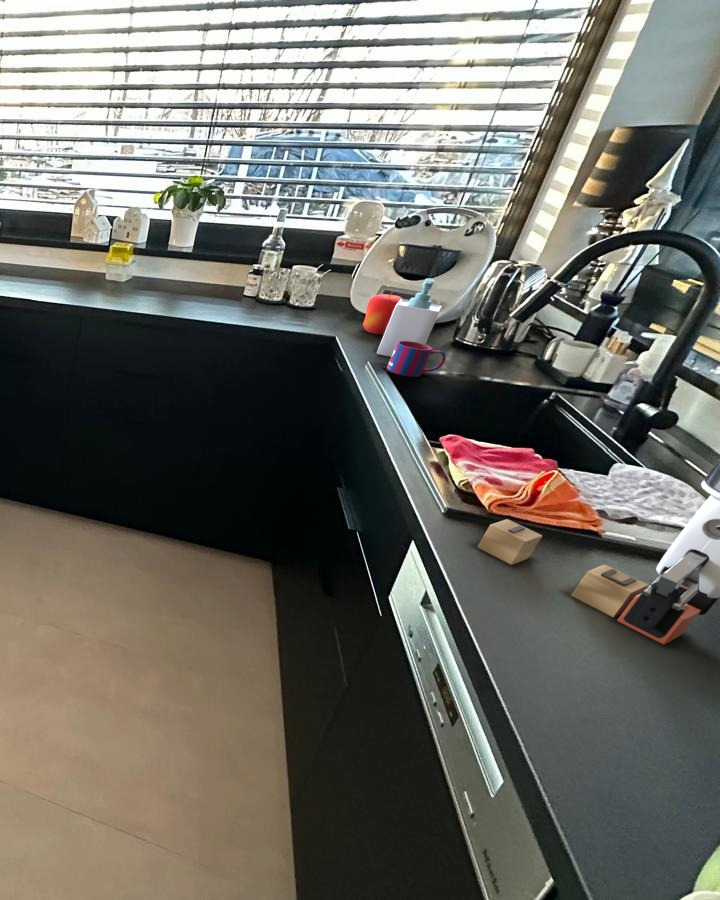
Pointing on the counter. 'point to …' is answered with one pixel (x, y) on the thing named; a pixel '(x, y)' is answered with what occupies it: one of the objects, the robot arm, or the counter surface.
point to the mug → (412, 359)
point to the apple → (380, 312)
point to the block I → (509, 541)
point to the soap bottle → (410, 320)
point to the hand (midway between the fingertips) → (663, 617)
